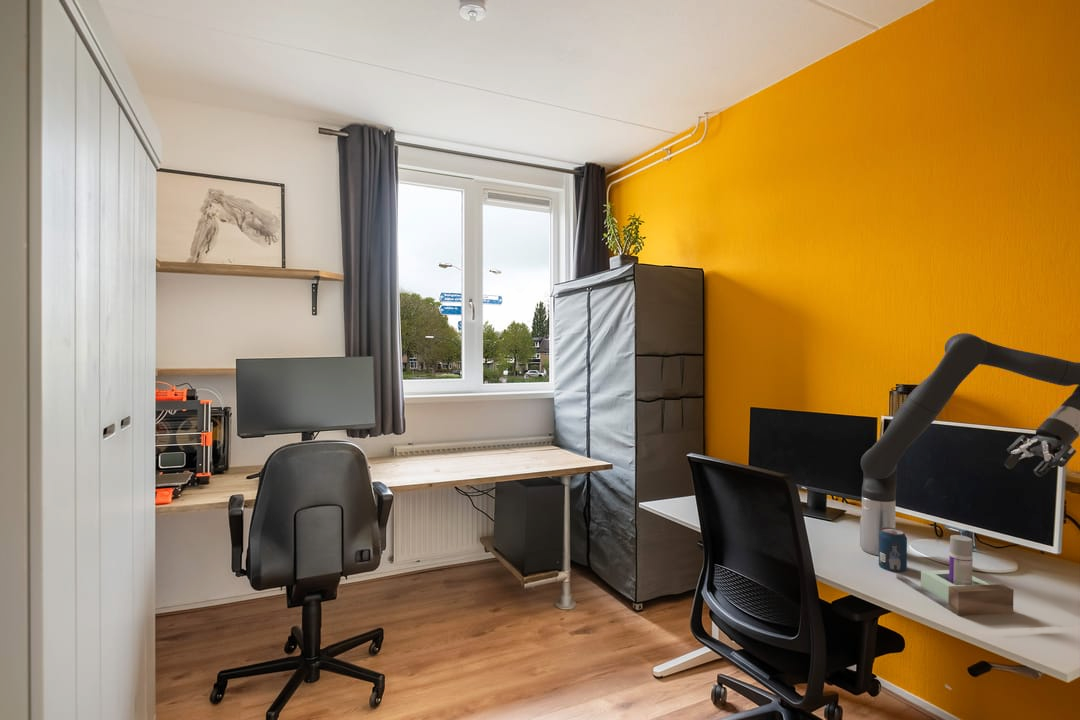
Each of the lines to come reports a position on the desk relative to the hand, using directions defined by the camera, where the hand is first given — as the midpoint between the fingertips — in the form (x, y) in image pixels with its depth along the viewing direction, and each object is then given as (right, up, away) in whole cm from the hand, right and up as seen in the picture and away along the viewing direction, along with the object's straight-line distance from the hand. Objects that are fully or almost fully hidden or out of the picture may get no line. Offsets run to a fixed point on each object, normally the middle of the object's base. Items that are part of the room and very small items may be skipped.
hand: (1021, 470), depth 147 cm
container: (-21, -31, -6) cm, 38 cm away
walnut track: (-21, -33, -4) cm, 39 cm away
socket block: (-21, -32, -5) cm, 39 cm away
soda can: (-25, -33, +15) cm, 44 cm away
